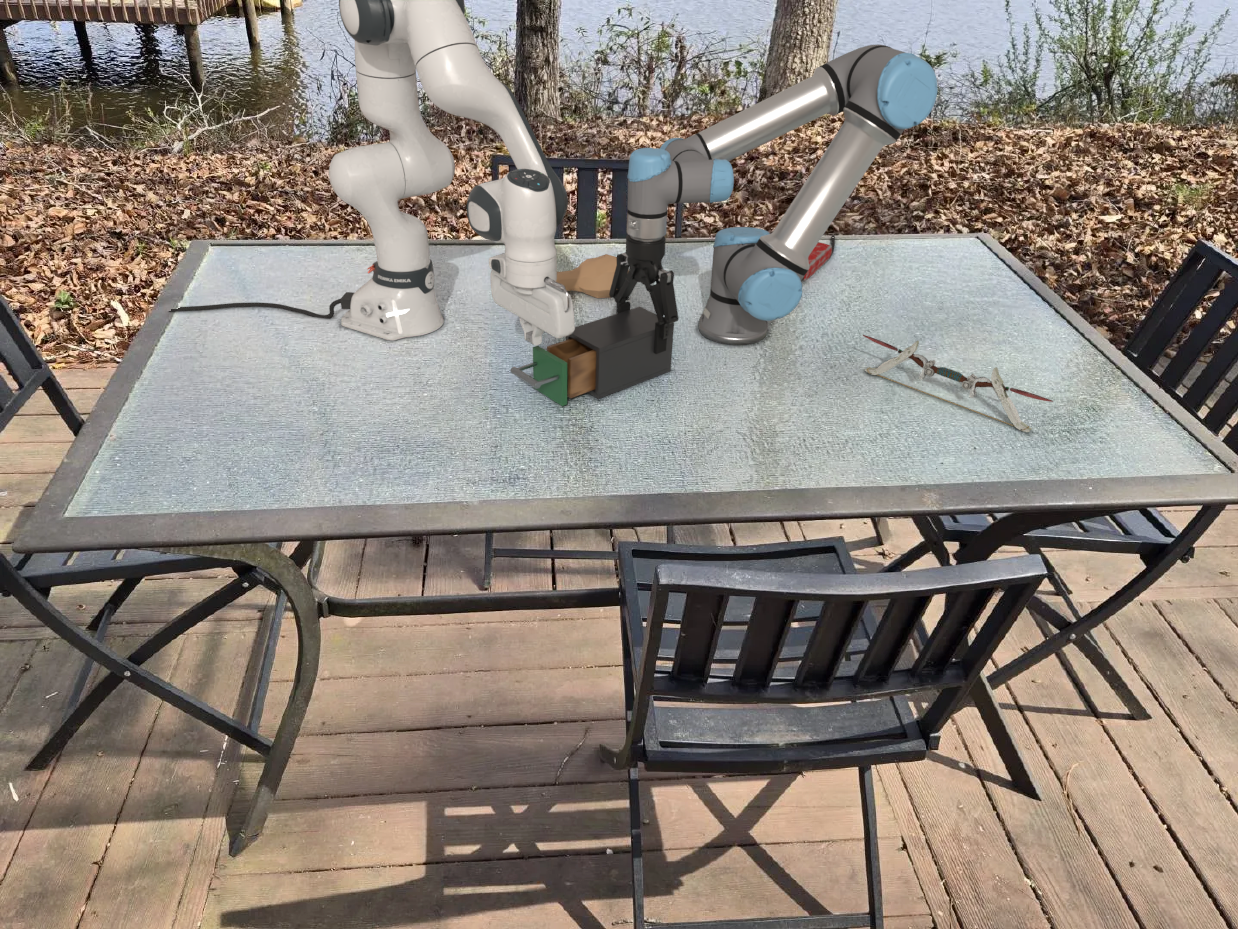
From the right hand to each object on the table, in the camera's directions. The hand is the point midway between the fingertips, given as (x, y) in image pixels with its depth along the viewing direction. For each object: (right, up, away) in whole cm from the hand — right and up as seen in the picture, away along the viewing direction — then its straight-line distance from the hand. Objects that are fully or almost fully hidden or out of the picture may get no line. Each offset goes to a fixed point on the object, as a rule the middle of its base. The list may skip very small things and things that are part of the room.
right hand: (641, 342), depth 178 cm
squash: (-12, +17, +35) cm, 40 cm away
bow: (+59, -12, -5) cm, 61 cm away
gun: (+37, +26, +50) cm, 67 cm away
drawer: (-13, -10, -7) cm, 18 cm away
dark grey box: (-5, -7, 0) cm, 8 cm away
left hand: (-20, -3, -19) cm, 28 cm away
